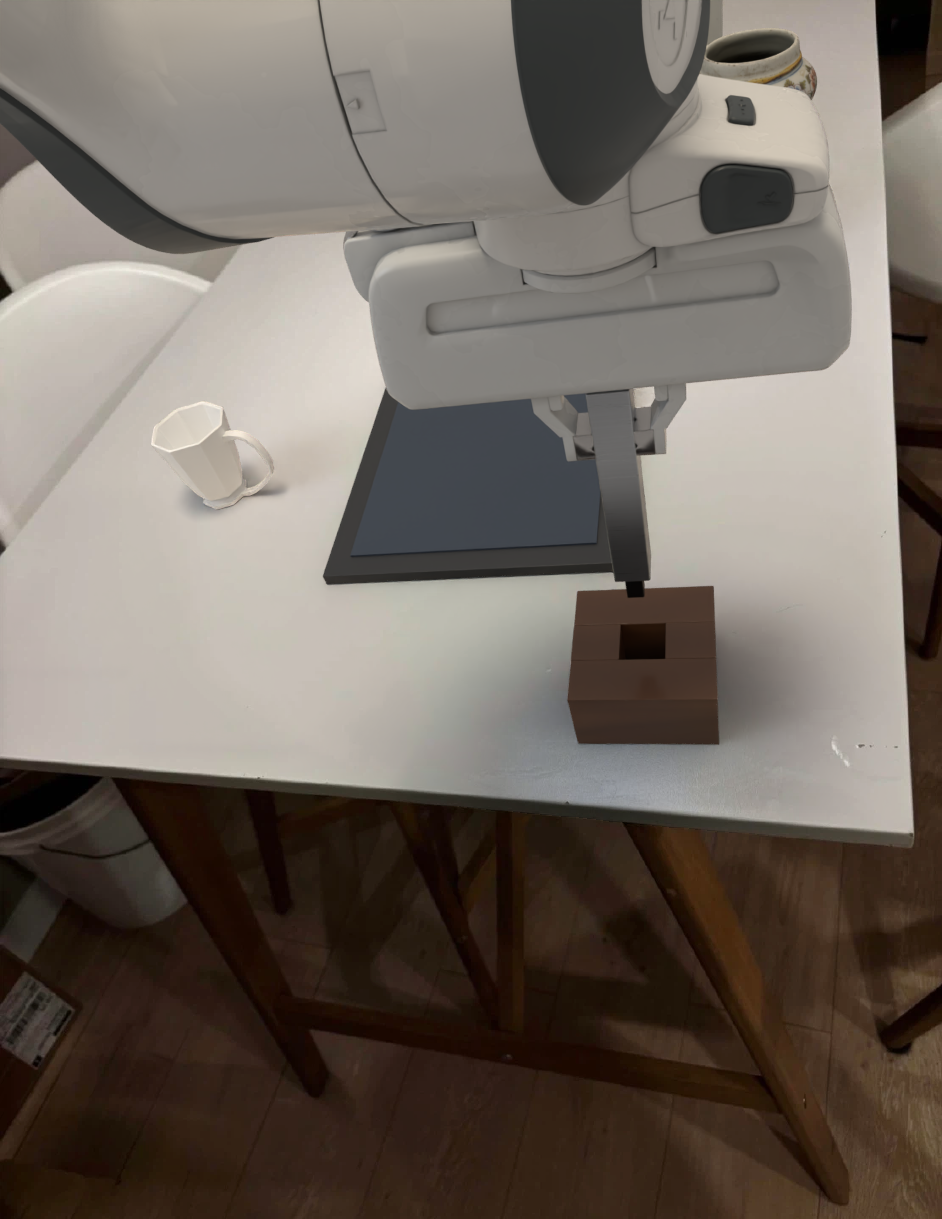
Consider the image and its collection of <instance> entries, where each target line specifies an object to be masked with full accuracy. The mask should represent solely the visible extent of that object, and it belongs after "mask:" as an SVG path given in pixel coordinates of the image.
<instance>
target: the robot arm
mask: <svg viewBox="0 0 942 1219" xmlns="http://www.w3.org/2000/svg"><path fill="white" fill-rule="evenodd" d="M709 22H710V0H0V125H1V126H2V127H4V129H5V130H6V131H7V132H8V133H9V134H10V135H12V136H13V137H14V138H15V139H16V140H17V141H18V142H19V143H20V144H21V145H22V147H24V148H25V150H27V151H28V153H30V154H31V156H33V157H34V159H35V160H37V162H38V163H39V164H40V165H42V167H43V168H44V169H45V170H46V171H47V172H48V173H49V174H50V175H51V176H52V177H53V178H54V179H55V180H56V181H57V182H58V183H59V184H60V185H61V186H62V187H63V188H64V189H65V190H66V191H67V192H68V193H69V195H71V196H72V197H73V198H74V199H76V201H77V202H78V203H80V204H81V205H82V206H83V207H84V208H85V209H86V210H87V211H88V212H90V213H91V214H92V215H93V216H94V217H96V218H97V219H98V220H99V221H100V222H102V223H103V224H104V225H106V226H107V227H108V228H110V229H111V230H113V231H114V232H116V233H117V234H119V235H121V236H122V237H123V238H125V239H127V240H129V241H130V242H133V243H135V244H137V245H140V246H142V247H145V248H146V249H149V250H151V251H155V252H160V253H165V254H169V255H170V254H171V255H188V254H189V255H190V254H196V253H203V252H208V251H213V250H218V249H224V248H231V247H235V246H236V247H237V246H242V245H247V244H255V243H260V242H263V241H267V240H270V239H274V238H280V237H281V238H282V237H293V236H308V235H309V236H310V235H322V234H323V235H324V234H334V233H336V234H337V233H345V234H344V237H343V244H342V246H343V247H342V249H343V256H344V260H345V263H346V266H347V269H348V272H349V274H350V278H351V280H352V284H353V286H354V287H355V290H356V291H357V293H358V294H359V295H360V296H361V298H362V299H363V300H364V301H366V302H367V303H368V308H369V318H370V324H371V330H372V331H371V332H372V337H373V342H374V347H375V351H376V356H377V360H378V364H379V368H380V369H379V370H380V373H381V375H382V379H383V382H384V385H385V388H386V389H387V391H388V393H389V395H390V396H392V397H393V398H394V399H395V400H397V401H398V402H399V403H401V404H402V405H403V406H405V407H406V408H408V409H411V410H419V409H429V408H439V407H450V406H460V405H470V404H480V403H491V402H501V401H511V400H521V399H531V402H532V406H533V411H534V414H535V415H536V416H537V417H539V418H540V419H541V420H542V421H543V422H544V423H545V424H546V425H547V426H548V427H549V428H550V429H551V430H552V431H554V432H555V433H556V434H557V435H558V436H559V437H562V438H563V443H564V448H565V453H566V458H567V461H577V460H578V461H582V460H593V459H595V458H596V457H595V452H594V444H593V438H592V433H591V427H590V421H589V414H588V412H586V413H578V412H577V411H576V409H575V408H574V407H573V406H572V405H571V404H570V403H569V401H568V400H567V399H566V398H565V397H564V395H573V394H583V393H593V392H604V391H614V390H624V389H633V390H634V389H643V388H653V391H654V399H653V401H652V402H651V404H650V406H641V407H635V422H634V431H633V433H634V441H635V443H636V449H635V450H636V455H637V456H640V457H641V456H657V455H667V445H668V444H667V442H668V440H667V429H668V428H669V426H670V425H671V423H672V422H673V420H674V419H675V418H676V416H677V414H679V411H680V410H681V408H682V407H683V405H684V404H685V402H686V401H687V384H693V383H704V382H714V381H715V382H716V381H725V380H726V381H727V380H736V379H745V378H746V379H747V378H756V377H766V376H779V375H786V374H797V373H808V372H818V371H820V372H821V371H824V370H827V369H829V368H831V366H832V365H834V363H835V362H837V361H838V359H839V358H841V357H842V356H843V354H844V353H846V351H847V350H848V348H849V347H850V344H851V337H852V324H853V322H852V320H853V319H852V317H853V308H852V307H853V300H852V282H851V271H850V262H849V256H848V250H847V245H846V240H845V234H844V230H843V225H842V221H841V217H840V213H839V210H838V206H837V202H836V199H835V196H834V191H833V189H832V187H831V184H830V150H829V143H828V142H829V141H828V136H827V133H826V130H825V127H824V123H823V122H822V119H821V116H820V114H819V112H818V110H817V108H816V106H815V104H814V103H813V100H810V98H809V97H808V95H807V94H805V93H803V92H802V91H799V90H796V89H792V88H786V87H780V86H772V85H765V84H758V83H751V82H744V81H737V80H731V79H725V78H719V77H713V76H707V75H702V74H699V73H700V70H701V68H702V64H703V60H704V57H705V52H706V47H707V40H708V33H709Z"/></svg>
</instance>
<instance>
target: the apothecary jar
mask: <svg viewBox="0 0 942 1219" xmlns="http://www.w3.org/2000/svg"><path fill="white" fill-rule="evenodd" d="M802 53H803V52H802V51H801V44H800V38H799V36H798V34H797V33H795V32H794V31H792V30H789V29H786V28H778V27H762V28H753V29H746V30H740V31H736V32H733V33H729V34H726V35H723V37H720V38H718V39H716V40H714V41H713V42H711V43H709V44H708V45H707V47H706V52H705V57H704V60H703V64H702V68H701V70H700V73H699V74H702V75H707V76H713V77H719V78H725V79H731V80H737V81H744V82H751V83H758V84H765V85H772V86H780V87H786V88H792V89H796V90H799V91H802V92H803V93H805V94H807V95H808V97H809V98H810V100H811V101H813V98H814V96H815V95H816V93H817V89H818V88H817V87H818V77H817V72H816V70H815V68H814V66H813V65H812V63H811V62H810V61H809V60H807V58H805V57H803V54H802Z"/></svg>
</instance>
